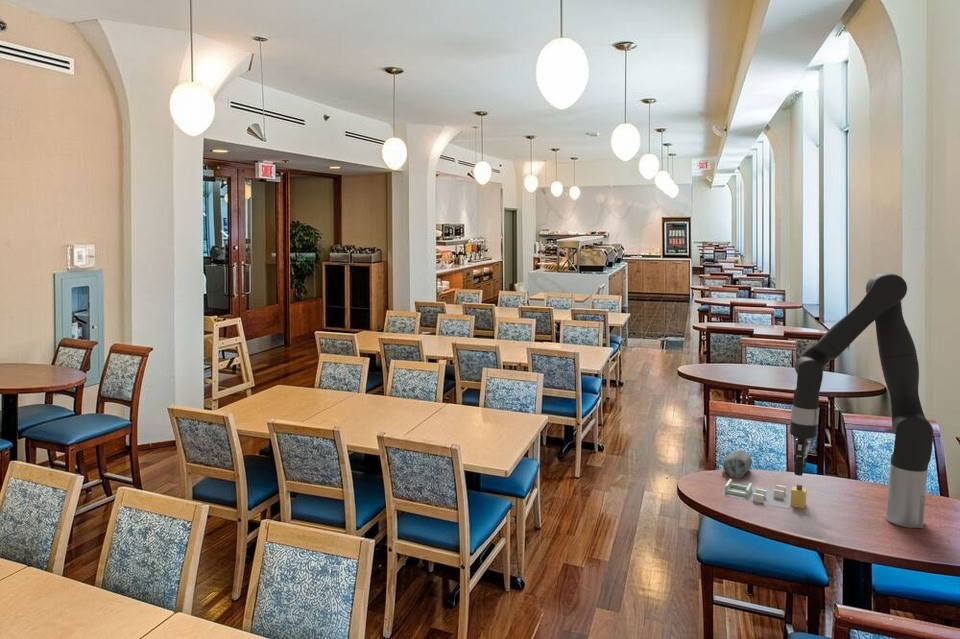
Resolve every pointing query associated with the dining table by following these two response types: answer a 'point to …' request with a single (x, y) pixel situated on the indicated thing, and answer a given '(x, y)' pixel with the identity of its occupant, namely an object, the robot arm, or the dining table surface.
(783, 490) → the white blocks
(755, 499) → the white blocks
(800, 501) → the yellow drawer
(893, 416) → the robot arm
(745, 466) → the spool
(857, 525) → the dining table surface
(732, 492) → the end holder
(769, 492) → the board
